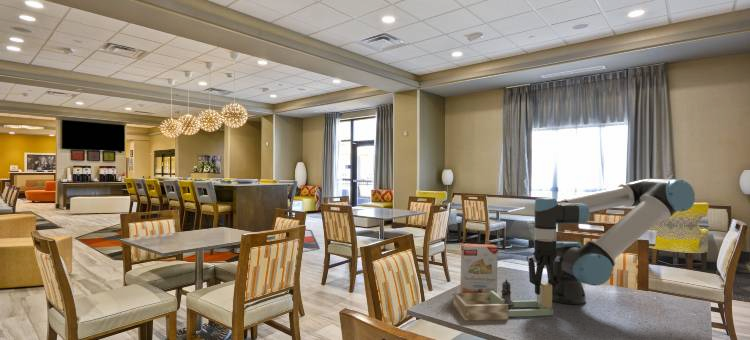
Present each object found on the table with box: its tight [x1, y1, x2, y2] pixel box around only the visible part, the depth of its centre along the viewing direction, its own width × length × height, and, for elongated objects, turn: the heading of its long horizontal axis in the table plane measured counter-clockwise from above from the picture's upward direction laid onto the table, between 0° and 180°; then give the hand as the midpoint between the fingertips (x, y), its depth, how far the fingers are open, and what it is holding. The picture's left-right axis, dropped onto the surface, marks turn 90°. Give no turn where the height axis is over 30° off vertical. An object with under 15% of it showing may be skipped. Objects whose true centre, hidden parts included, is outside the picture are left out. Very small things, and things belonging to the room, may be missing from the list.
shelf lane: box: [453, 293, 509, 321], centre depth 143 cm, size 15×13×5 cm
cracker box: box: [459, 243, 499, 294], centre depth 162 cm, size 14×6×21 cm, turn 88°
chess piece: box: [500, 278, 515, 310], centre depth 144 cm, size 6×6×12 cm
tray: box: [490, 280, 554, 317], centre depth 144 cm, size 20×10×10 cm, turn 96°
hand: (544, 302), depth 145 cm, fingers closed on tray, 3 cm apart
